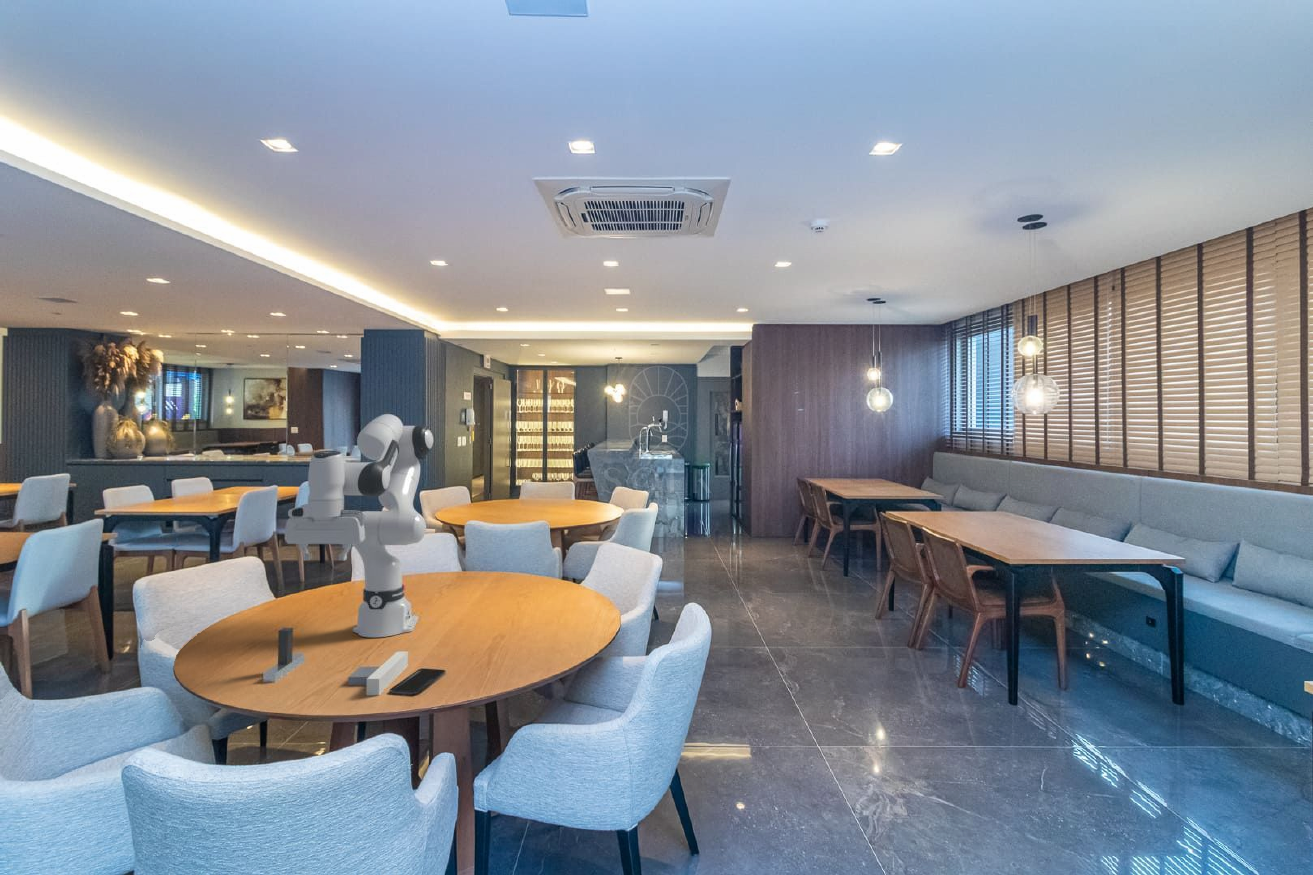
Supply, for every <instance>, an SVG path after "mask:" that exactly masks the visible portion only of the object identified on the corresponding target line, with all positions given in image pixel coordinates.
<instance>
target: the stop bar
mask: <svg viewBox="0 0 1313 875" xmlns="http://www.w3.org/2000/svg"><path fill="white" fill-rule="evenodd" d="M408 659H409V651H396V652H395V653H393V654H392V655H391V657H389V658H388V659H387V660H386V661H385V662H384V663H383V664H381V665H380V666H378V667H379V668H378V669H377V670H376V671H375V672H374V673H373V674H372V675H371V676H369V677H368V678H367V685H366V696H381V694H382V693H383V692H384V691H385V690H386V689H387V687H389V686H390V685H391V684H392V683H393V682H394V681H395V679H397V678H398V677H399V676H400V674H402V673H403V672H404V670H406V668H408V664H409V660H408ZM384 689H385V690H384Z"/></svg>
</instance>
